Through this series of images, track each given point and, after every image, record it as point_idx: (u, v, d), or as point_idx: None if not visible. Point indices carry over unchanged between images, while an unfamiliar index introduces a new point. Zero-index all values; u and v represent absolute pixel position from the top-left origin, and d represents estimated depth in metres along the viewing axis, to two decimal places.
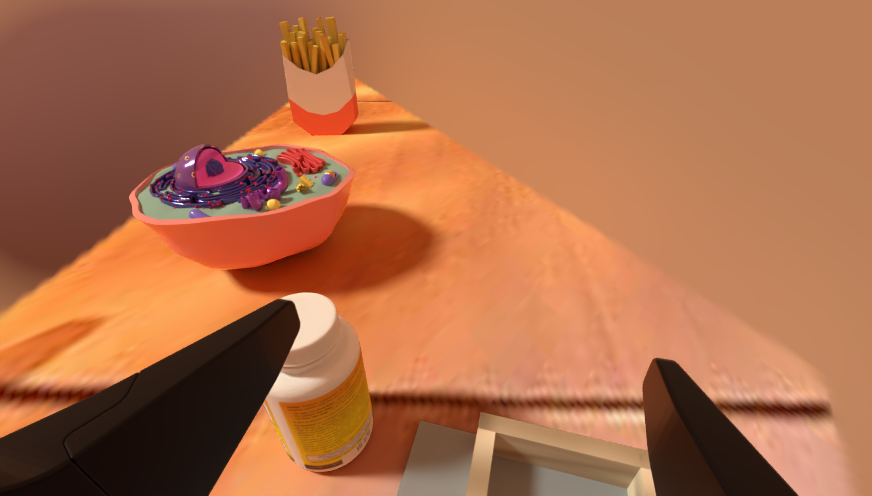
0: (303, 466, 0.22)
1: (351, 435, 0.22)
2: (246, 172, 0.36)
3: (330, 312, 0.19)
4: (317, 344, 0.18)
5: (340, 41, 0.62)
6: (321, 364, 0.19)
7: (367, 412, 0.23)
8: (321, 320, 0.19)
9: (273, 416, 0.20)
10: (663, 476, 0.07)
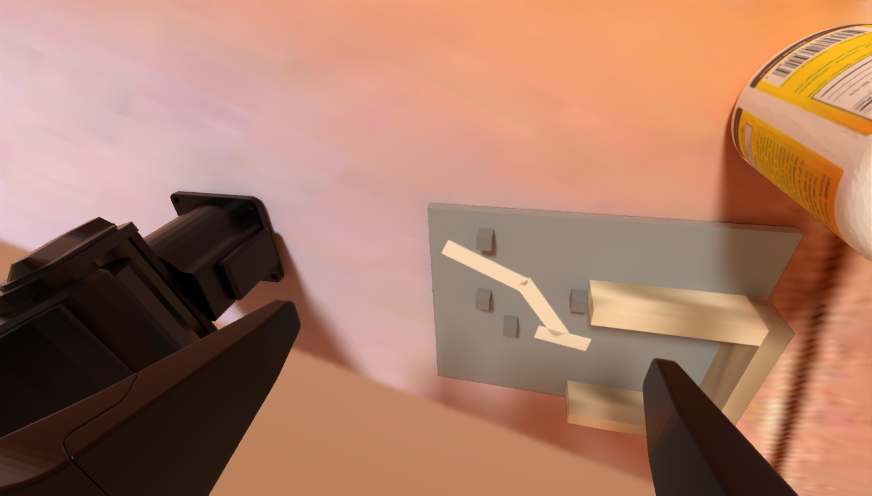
0: (740, 103, 0.15)
1: None
2: None
3: None
4: None
5: None
6: None
7: None
8: None
9: (824, 117, 0.11)
10: (663, 476, 0.07)
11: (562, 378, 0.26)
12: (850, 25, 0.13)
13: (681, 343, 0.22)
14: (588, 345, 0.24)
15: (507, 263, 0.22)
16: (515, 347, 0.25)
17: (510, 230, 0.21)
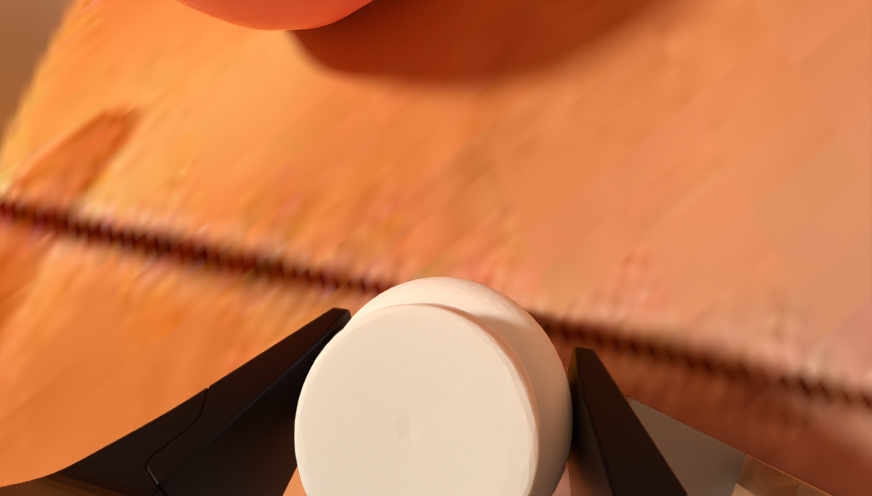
0: None
1: None
2: None
3: (517, 431, 0.06)
4: None
5: None
6: None
7: None
8: (489, 465, 0.06)
9: None
10: (572, 456, 0.08)
11: None
12: None
13: None
14: None
15: None
16: None
17: None
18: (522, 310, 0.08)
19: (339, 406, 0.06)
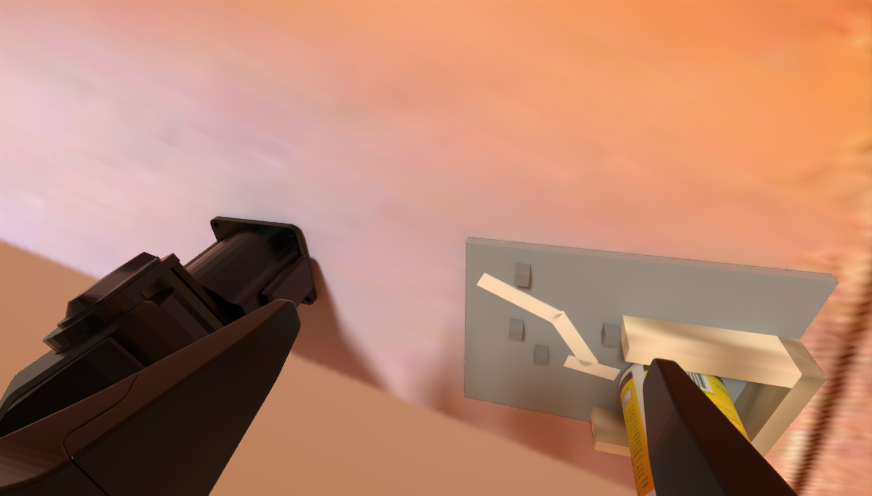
0: (633, 371, 0.23)
1: None
2: None
3: None
4: None
5: None
6: None
7: None
8: None
9: None
10: (663, 476, 0.07)
11: (588, 404, 0.26)
12: None
13: None
14: (617, 375, 0.24)
15: (541, 296, 0.22)
16: (543, 374, 0.26)
17: (547, 266, 0.21)
18: None
19: None
